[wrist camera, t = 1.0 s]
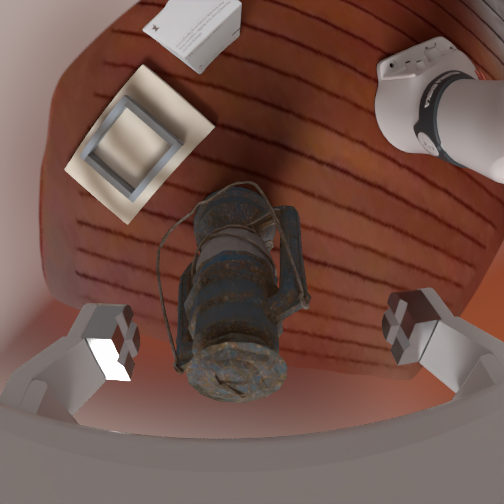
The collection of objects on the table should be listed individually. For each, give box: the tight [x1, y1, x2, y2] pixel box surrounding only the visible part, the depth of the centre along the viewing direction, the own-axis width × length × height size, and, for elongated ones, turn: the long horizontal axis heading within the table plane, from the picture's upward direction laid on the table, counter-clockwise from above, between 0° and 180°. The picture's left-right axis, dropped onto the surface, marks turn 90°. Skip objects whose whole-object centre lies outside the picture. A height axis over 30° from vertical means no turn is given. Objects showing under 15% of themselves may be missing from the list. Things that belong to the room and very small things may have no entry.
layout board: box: [65, 64, 215, 225], centre depth 39 cm, size 20×14×4 cm
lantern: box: [156, 181, 311, 403], centre depth 35 cm, size 19×14×30 cm
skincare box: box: [143, 0, 242, 74], centre depth 28 cm, size 8×6×15 cm
